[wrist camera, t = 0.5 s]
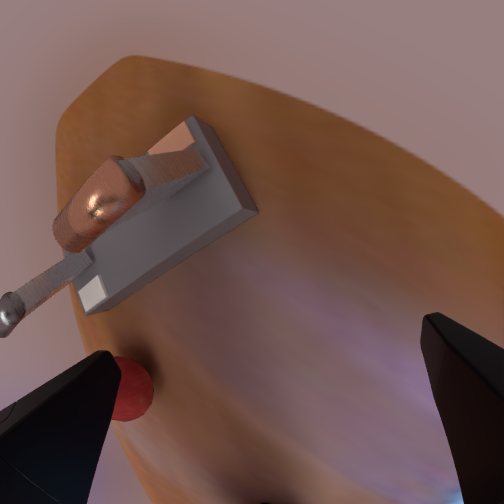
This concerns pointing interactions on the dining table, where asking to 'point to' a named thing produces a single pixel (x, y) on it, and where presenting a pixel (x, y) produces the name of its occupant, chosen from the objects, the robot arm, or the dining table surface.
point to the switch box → (166, 224)
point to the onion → (132, 391)
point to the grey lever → (39, 291)
